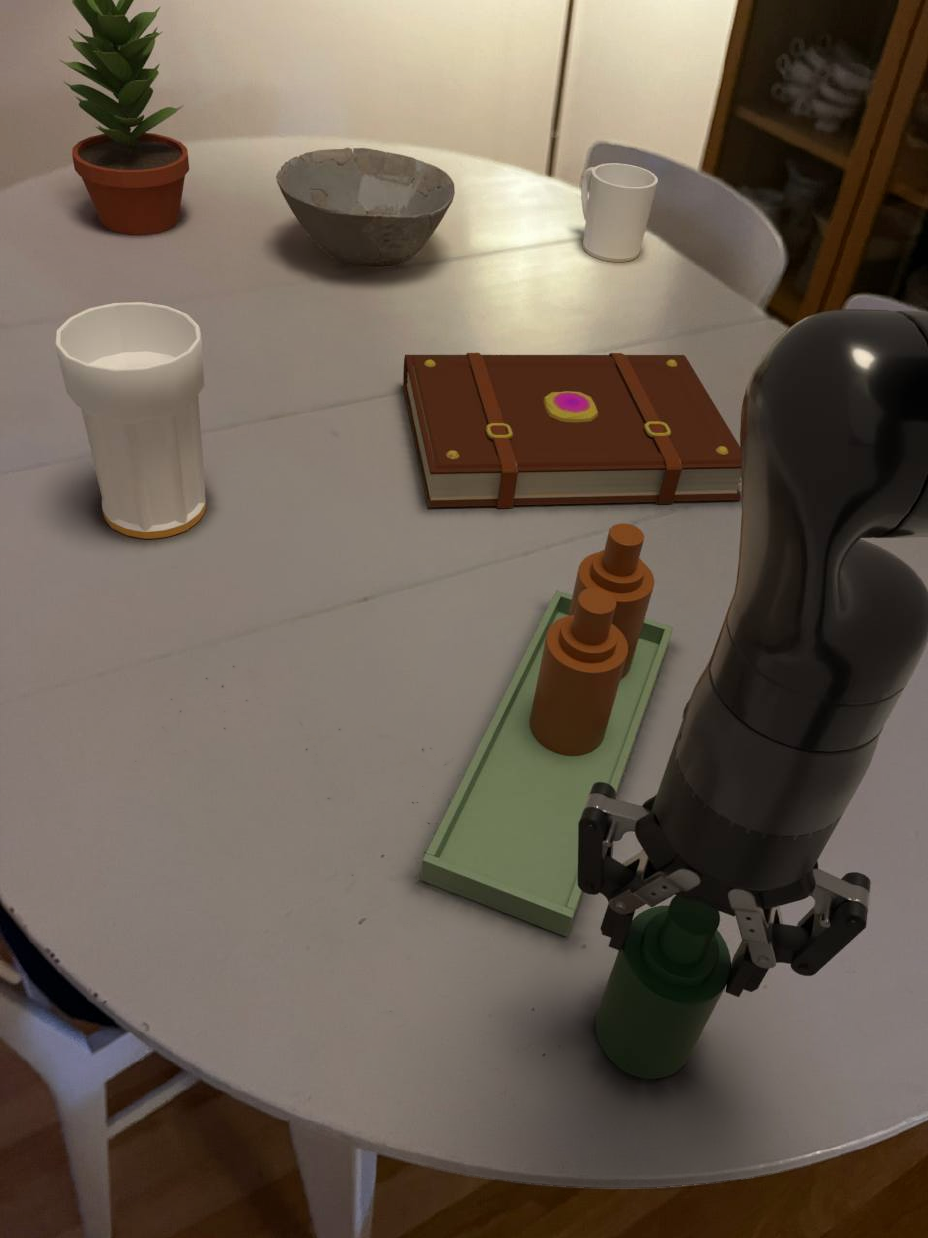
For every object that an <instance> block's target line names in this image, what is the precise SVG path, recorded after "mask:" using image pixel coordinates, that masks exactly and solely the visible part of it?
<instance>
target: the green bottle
mask: <svg viewBox="0 0 928 1238" xmlns="http://www.w3.org/2000/svg"><path fill="white" fill-rule="evenodd" d="M720 923H721V913H720V911H718V910H716V909H715V908H713V907H711V906H709V905H707V904H706V903H703V902H698V901H694V900H689V899H685V898H683V897H680V896H677V895H673V896H672V899H671V900H670V903H669V905H656V906H654V907H650V908H648V909H645V910H643V911H642V912H640V913H638V914H637V915H636V916H634V917H633V920H632V922H631V925H630V928H629V930H628V933H627V936H626V938H625V941H624V944H623V946H622V949H621V951H619V950H618V952H617V954H616V957H615V960H614V963H613V966H612V968H611V971H610V974H609V977H608V980H607V983H606V985H605V988H604V991H603V994H602V997H601V999H600V1002H599V1005H598V1008H597V1011H596V1014H595V1032H596V1036H597V1039H598V1043H599V1044H600V1046H601V1048H602V1050H603V1052H604V1053H605V1055H606V1056H607V1057H608V1058H609V1059H610V1060H611V1062H612V1063H613V1064H615V1065H616V1066H617V1067H618V1068H620V1069H621V1070H623V1071H624V1072H626V1073H628V1074H630V1075H631V1076H634V1077H638V1078H643V1079H652V1080H653V1079H661V1078H665V1077H669V1076H671V1075H673V1074H674V1073H677V1072H678V1071H679V1070H680V1069H682V1067H683V1066H684V1065H685V1064H686V1062H687V1061H688V1060H689V1058H690V1056H691V1054H692V1052H693V1050H694V1048H695V1046H696V1044H697V1042H698V1040H699V1039H700V1037H701V1035H702V1032H703V1031H704V1028H705V1027H706V1025H707V1023H708V1021H709V1019H710V1017H711V1015H712V1014H713V1011H714V1010H715V1007H716V1006H717V1004H718V1002H719V1000H720V998H721V996H722V995H723V992H724V991H725V990H726V985H727V983H728V981H729V977H730V973H731V963H732V958H731V953H730V950H729V947H728V945H727V942H726V940H725V939H724V937H723V935H722V933H721V932H720V931H719V930H718V929H719V927H720Z"/></svg>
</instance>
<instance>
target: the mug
mask: <svg viewBox="0 0 928 1238" xmlns="http://www.w3.org/2000/svg"><path fill="white" fill-rule="evenodd" d="M589 180H590V184H589ZM658 181H659V179H658V177H657V175H656V174H655V173H654V172H652V171H650V170H648V169H646V168H644V167H640V166H637V165H632V164H627V163H621V162H620V163H619V162H617V163H616V162H615V163H613V162H610V163H609V162H608V163H601V164H598V165H596V166H590V167H588V168H586V169H585V170H584V172H583V174H582V176H581V184H580V199H581V208H582V210H581V211H582V214H583V219H584V221H585V224H584V232H583V240H582V241H583V242H582V247H583V250H584V252H585V253H587V254H588V255H589V256H591V257H593V258H594V259H598V260H600V261H603V262H604V261H605V262H609V263H611V262H612V263H627V262H631V261H633V260H635V259H637V258H638V257H639V255H640V253H641V249H642V245H643V240H644V237H645V234H646V229H647V226H648V222H649V217H650V214H651V210H652V206H653V202H654V198H655V194H656V190H657V187H658V183H659V182H658Z"/></svg>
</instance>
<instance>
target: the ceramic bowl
mask: <svg viewBox="0 0 928 1238" xmlns="http://www.w3.org/2000/svg"><path fill="white" fill-rule="evenodd" d="M275 177H276V178H275V179H276V183H277V185H278V188H279V189H280V192H281V195H282V197H283V198H284V200H285V202H286V204H287V205H288V207H289V209H290V210H291V213H292V214H293V215H294V217H295V218H296V220H297V222H298V224H299V225H300V226H301V227H302V229H303V230H304V231H305V233H306V235H308V236H309V238H310V239H311V241H313V242H314V243H315V244H316V245H317V246H318V247H319V248H320V249H321V251H322V252H324V253H325V254H326V255H328V256H329V257H331V258H333V259H334V260H336V261H339V262H340V263H343V264H346V265H348V266H353V267H354V266H355V267H365V268H366V267H367V268H386V267H387V268H388V267H389V268H390V267H397V266H399V265H402V264H404V263H406V262H408V261H409V260H410V259H412V257H414V256H415V255H416V254H418V253H419V252H420V251H421V250H422V249H423V247H424V246H425V245H426V244H427V243H428V241H429V240H430V239H431V237H432V236H433V235H434V233H435V232H436V230H437V228H438V227H439V225H440V224H441V223H442V221H443V219H444V217H445V215H446V213H447V212H448V210H449V208H450V207H451V204H452V203H453V202H454V198H455V193H456V190H455V183H454V181H453V179H452V178H451V176H450V175H449V174H448V173H447V172H446V171H444V170H443V169H441V168H440V167H438V166H436V165H433V164H432V163H429V162H425V161H424V160H420V159H416V158H415V157H412V156H408V155H404V154H400V153H394V152H391V151H390V152H389V151H387V152H386V151H383V150H378V149H373V148H368V147H367V148H366V147H353V148H350V147H344V148H330V149H329V148H328V149H318V150H313V151H309V152H305V153H303V154H299V156H294V157H291V158H289V159H288V161H285V162H284V163H283V165H281V166H280V169H278V171H277V173H276V176H275Z"/></svg>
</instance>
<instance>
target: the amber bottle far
mask: <svg viewBox="0 0 928 1238" xmlns="http://www.w3.org/2000/svg"><path fill="white" fill-rule="evenodd" d="M644 540H645V534H644V532H643V531H642V529H640V528H639V527H638V526H636V525H634V524H630V523H623V522H621V523H615V524H614V525H612V526H611V527H610V528H609V530H608V534H607V538H606V542H605V546H604V549H603V550H600V551H597V552H593V553H592V554H589V555H588V556H585V558H583V559H582V561H581V562H580V563H579V566H578V569H577V573H576V578H575V581H574V582H575V583H574V587H573V592H572V595H573V596H572V601H571V606H570V610H569V615H568V616H570V615H574V614H575V609H576V605H577V600H578V596H579V594H580V593H581V592H582V591H583V590H585V589H588V588H600V589H603V590H606V591H608V592H609V593H611V594H612V595H613V596H614V598H615V600H616V608H615V612H614V616H613V620H612V624H613V625H614V626H616V627H617V628H618V629H619V630H620V631H621V632H622V633H623V635H624V636H625V638H626V640H627V644H628V654H627V658H626V661H625V665H624V668H623V672H622V676H621V679H622V678H624V677H625V676H626V675H627V674H628V672H629V670H630V668H631V664H632V661H633V657H634V654H635V650H636V647H637V643H638V640H639V636H640V633H641V629H642V626H643V622H644V619H645V618H646V614H647V611H648V607H649V604H650V602H651V601H650V600H651V597H652V594H653V592H654V591H653V590H654V587H655V577H654V574H653V572H652V570H651V569H650V567H649V566H648V565H647V564H646V563H645V562H644V561H643V560H642V558H640V556H641V552H642V549H643V545H644ZM621 679H620V680H621Z"/></svg>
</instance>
